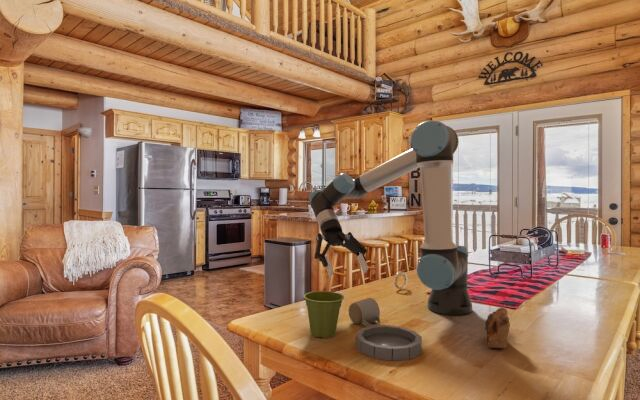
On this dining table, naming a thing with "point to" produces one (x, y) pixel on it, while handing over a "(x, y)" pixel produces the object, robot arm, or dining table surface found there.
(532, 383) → the dining table surface
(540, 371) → the dining table surface
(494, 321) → the decorative rock
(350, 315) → the ceramic mug
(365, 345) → the round tray
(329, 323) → the plant pot
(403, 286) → the ring
